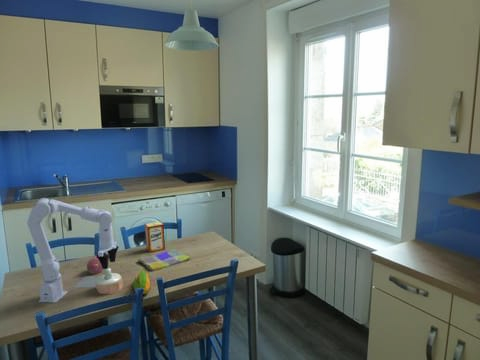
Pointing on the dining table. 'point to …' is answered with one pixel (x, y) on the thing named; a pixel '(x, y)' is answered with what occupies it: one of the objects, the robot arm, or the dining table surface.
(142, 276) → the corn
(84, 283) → the mat
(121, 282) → the bowl
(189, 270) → the dining table surface
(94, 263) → the cupcake
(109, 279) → the lid
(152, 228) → the baking soda box
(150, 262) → the dish towel
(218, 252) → the dining table surface
